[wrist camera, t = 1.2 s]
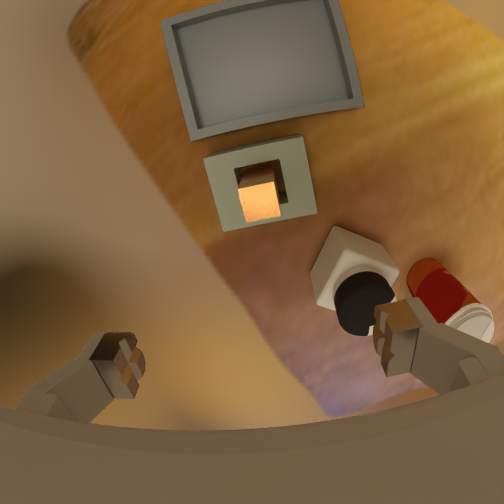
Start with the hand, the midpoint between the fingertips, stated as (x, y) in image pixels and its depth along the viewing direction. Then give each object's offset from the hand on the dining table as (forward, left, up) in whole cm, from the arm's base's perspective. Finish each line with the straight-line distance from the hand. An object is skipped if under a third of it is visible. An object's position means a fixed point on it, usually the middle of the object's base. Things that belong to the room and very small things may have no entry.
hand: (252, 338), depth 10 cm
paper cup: (-19, +18, -28) cm, 38 cm away
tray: (-3, -12, -28) cm, 30 cm away
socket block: (0, +1, -28) cm, 28 cm away
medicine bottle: (-8, +13, -28) cm, 32 cm away
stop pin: (0, +1, -28) cm, 28 cm away
